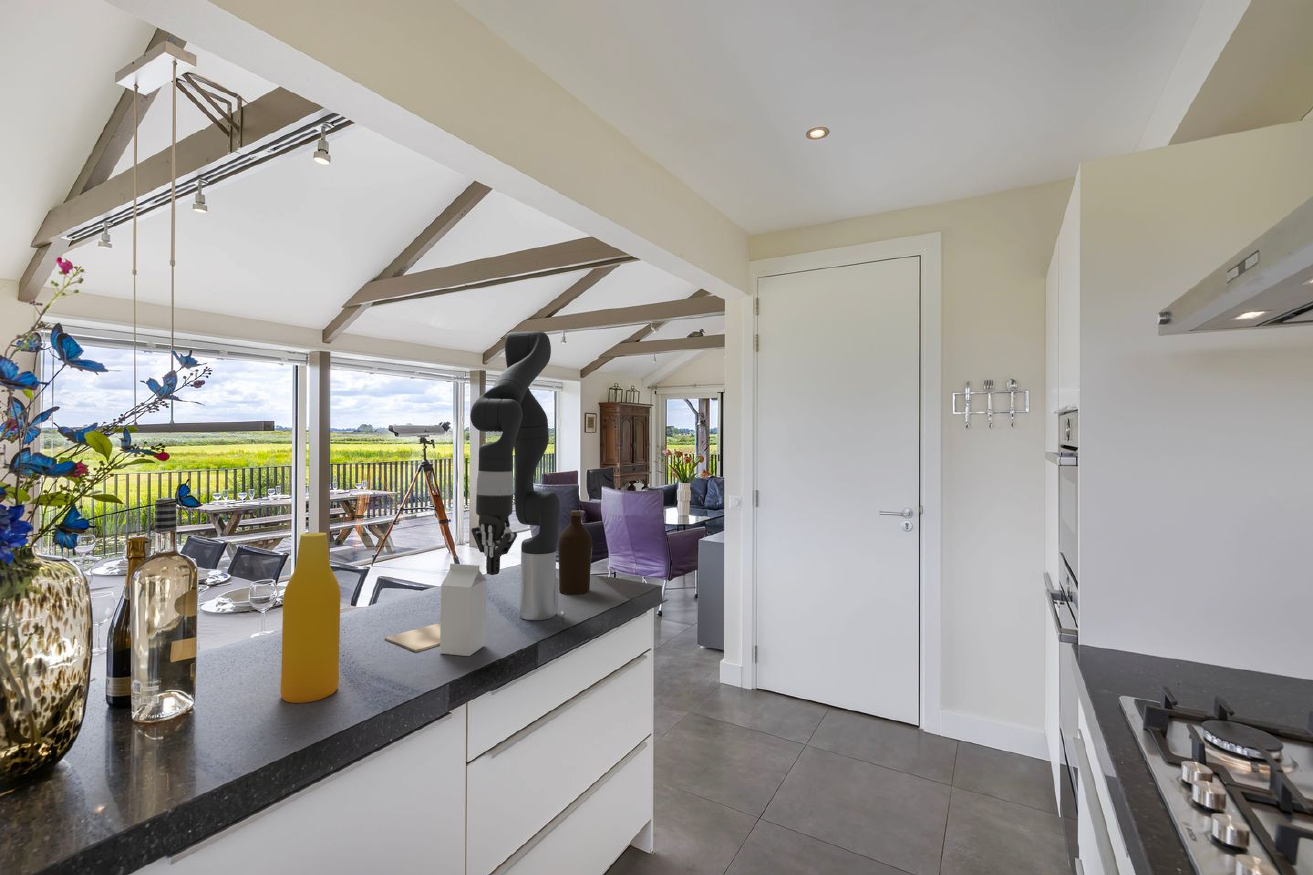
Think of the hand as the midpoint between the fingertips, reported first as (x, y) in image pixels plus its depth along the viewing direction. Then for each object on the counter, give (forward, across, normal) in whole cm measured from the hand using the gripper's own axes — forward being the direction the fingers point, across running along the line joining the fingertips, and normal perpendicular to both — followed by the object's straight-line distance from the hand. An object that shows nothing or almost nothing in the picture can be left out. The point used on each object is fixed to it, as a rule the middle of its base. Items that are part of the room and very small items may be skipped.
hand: (492, 573), depth 126 cm
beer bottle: (+19, +12, +31) cm, 38 cm away
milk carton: (+19, +10, 0) cm, 21 cm away
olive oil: (+18, +28, -53) cm, 63 cm away
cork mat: (+18, +23, 0) cm, 29 cm away
